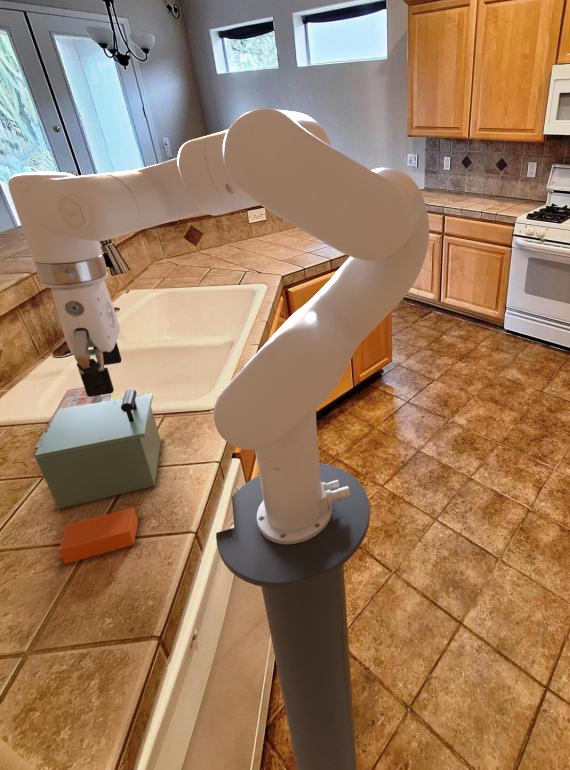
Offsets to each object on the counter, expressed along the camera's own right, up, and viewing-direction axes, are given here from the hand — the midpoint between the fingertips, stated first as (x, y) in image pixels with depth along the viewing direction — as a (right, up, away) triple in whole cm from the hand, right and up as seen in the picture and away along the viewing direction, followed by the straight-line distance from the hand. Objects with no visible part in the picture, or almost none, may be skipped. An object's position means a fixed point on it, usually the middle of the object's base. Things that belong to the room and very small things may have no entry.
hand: (106, 377), depth 66 cm
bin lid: (-8, -9, +11) cm, 16 cm away
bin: (-9, -19, +15) cm, 26 cm away
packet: (-1, -26, +1) cm, 26 cm away
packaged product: (-26, -13, +28) cm, 40 cm away
